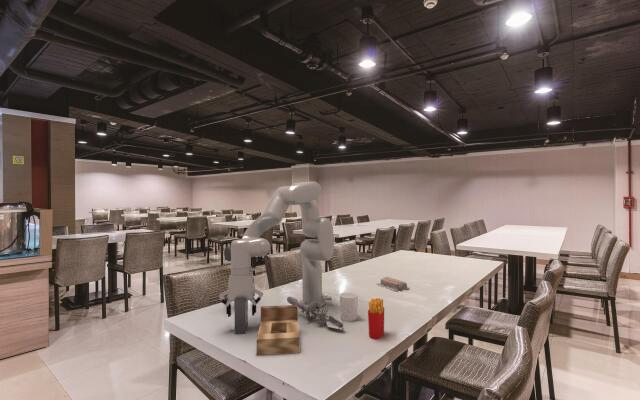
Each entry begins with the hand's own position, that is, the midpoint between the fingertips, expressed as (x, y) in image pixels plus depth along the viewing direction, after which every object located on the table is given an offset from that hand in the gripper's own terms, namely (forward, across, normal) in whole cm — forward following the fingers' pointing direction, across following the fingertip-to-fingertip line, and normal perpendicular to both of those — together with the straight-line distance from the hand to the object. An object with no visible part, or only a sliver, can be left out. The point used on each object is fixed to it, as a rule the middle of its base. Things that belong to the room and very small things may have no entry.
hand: (241, 315), depth 123 cm
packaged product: (+6, -79, -51) cm, 94 cm away
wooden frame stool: (+6, -15, +13) cm, 21 cm away
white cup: (+6, -44, -6) cm, 45 cm away
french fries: (+6, -51, +12) cm, 53 cm away
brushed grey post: (+6, 0, 0) cm, 6 cm away
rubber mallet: (+6, +5, -27) cm, 28 cm away
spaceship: (+6, -28, -5) cm, 30 cm away
